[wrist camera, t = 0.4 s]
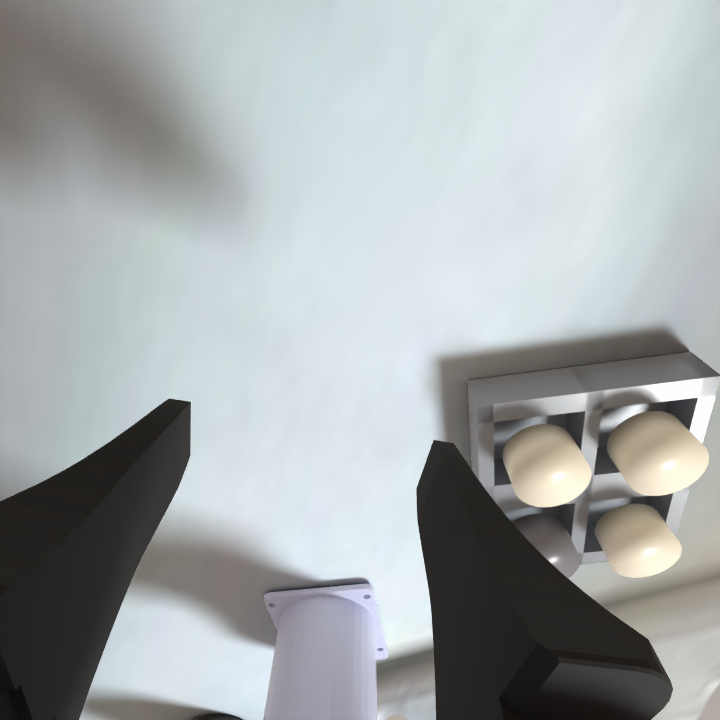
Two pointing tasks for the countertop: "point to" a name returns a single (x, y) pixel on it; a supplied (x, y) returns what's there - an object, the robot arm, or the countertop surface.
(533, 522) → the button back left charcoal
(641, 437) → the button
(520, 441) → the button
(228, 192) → the countertop surface
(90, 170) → the countertop surface
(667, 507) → the button board
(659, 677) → the robot arm
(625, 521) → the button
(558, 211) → the countertop surface
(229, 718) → the supplement bottle
